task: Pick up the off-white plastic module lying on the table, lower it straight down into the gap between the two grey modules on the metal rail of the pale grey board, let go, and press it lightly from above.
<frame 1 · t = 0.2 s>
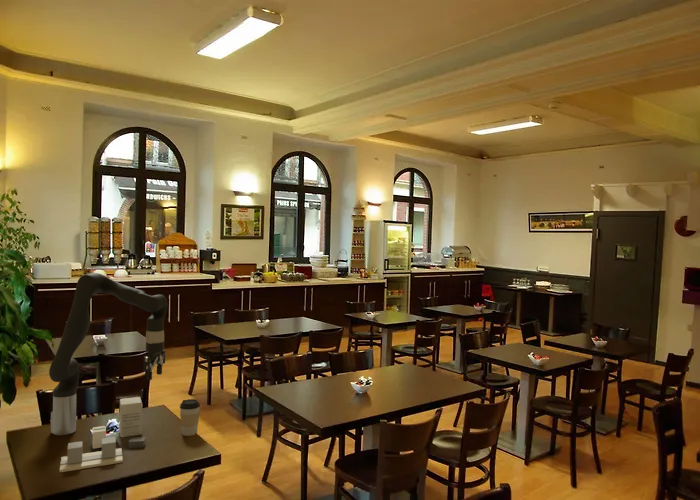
hand: (154, 377, 223), 29 cm above the table, tool pointing down, fingers open, 8 cm apart
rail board: (92, 460, 203), on the table
coffee cup: (189, 433, 234), on the table
supplement box: (130, 433, 232), on the table
expansion module: (99, 445, 218), on the table
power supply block: (137, 446, 219), on the table
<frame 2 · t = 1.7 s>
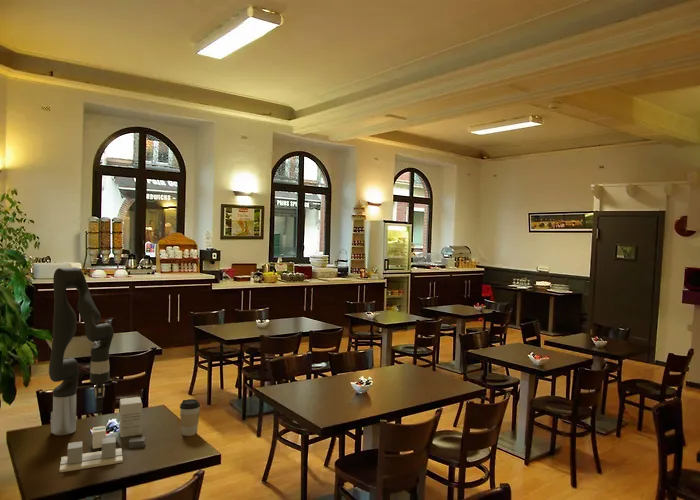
hand: (99, 407, 218), 16 cm above the table, tool pointing down, fingers open, 8 cm apart
nothing on the table moved.
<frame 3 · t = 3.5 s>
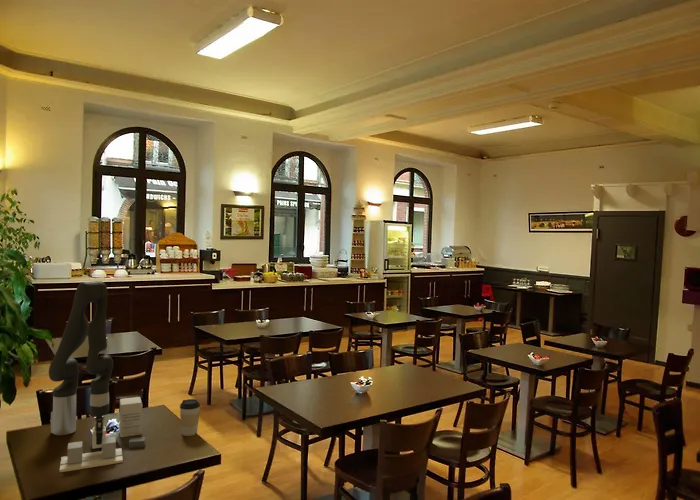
hand: (99, 441, 218), 2 cm above the table, tool pointing down, fingers closed on expansion module, 6 cm apart
expansion module: (99, 445, 218), on the table, touching gripper
everything else where it was.
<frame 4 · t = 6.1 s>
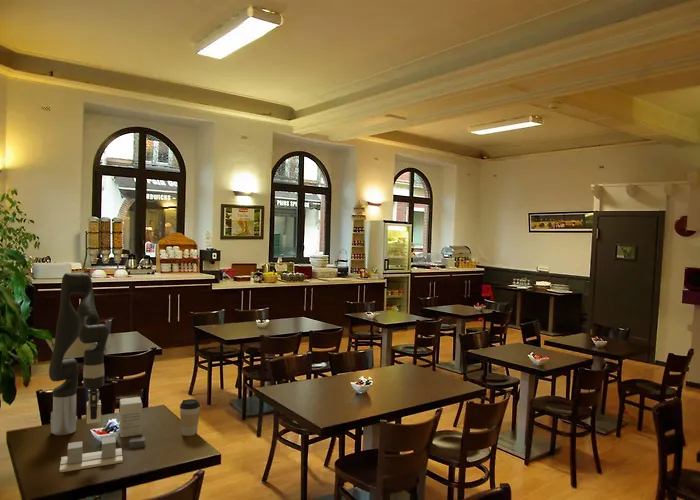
hand: (93, 416, 203), 18 cm above the table, tool pointing down, fingers closed on expansion module, 6 cm apart
expansion module: (93, 420, 203), point 16 cm above the table, touching gripper
everything else where it was.
when the fingers open (4 cm above the table, at t = 8.6 s): expansion module stays where it is, resting on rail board.
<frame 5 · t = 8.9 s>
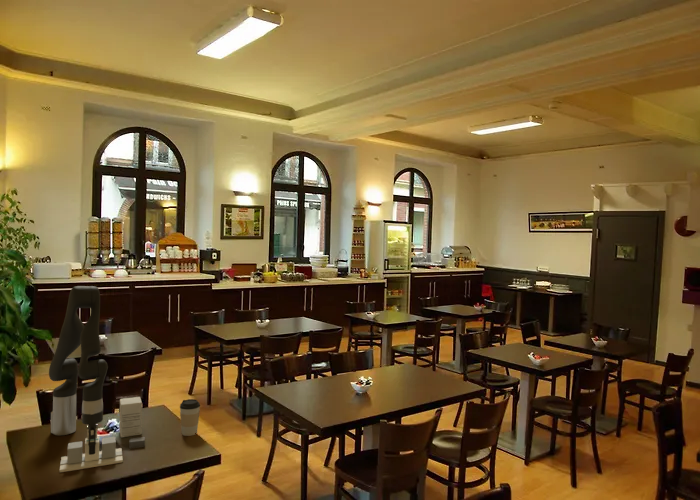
hand: (92, 449, 203), 4 cm above the table, tool pointing down, fingers open, 8 cm apart
expansion module: (92, 457, 203), point 1 cm above the table, touching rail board
everything else where it was.
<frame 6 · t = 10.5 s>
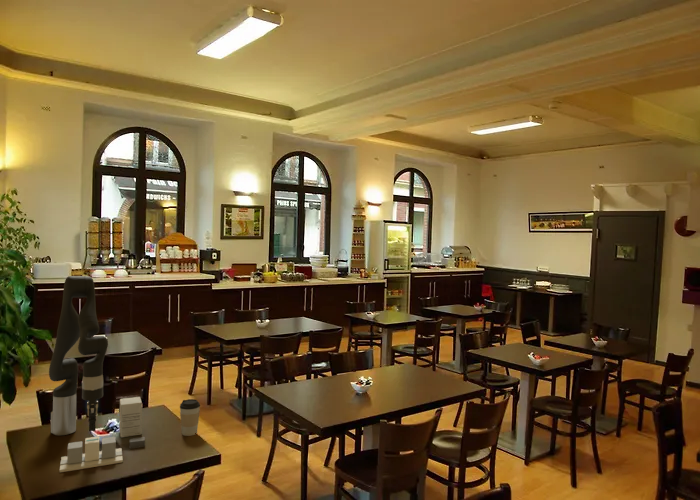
hand: (92, 427, 203), 13 cm above the table, tool pointing down, fingers open, 5 cm apart
nothing on the table moved.
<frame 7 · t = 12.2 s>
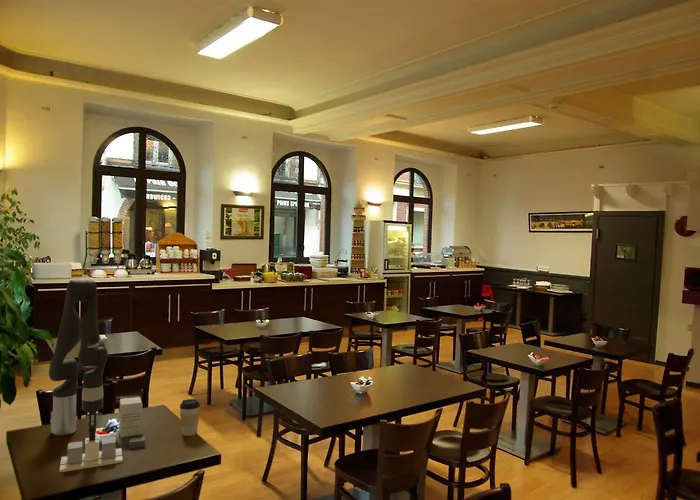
hand: (92, 439, 203), 9 cm above the table, tool pointing down, fingers closed
expansion module: (92, 457, 203), point 1 cm above the table, touching gripper, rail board
everything else where it was.
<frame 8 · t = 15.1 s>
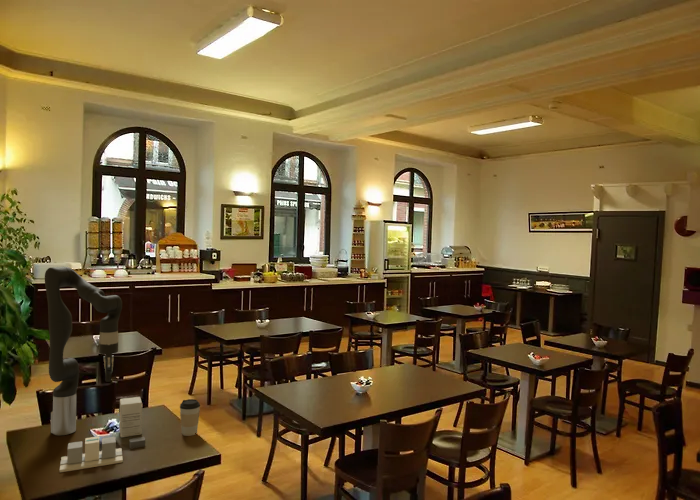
hand: (108, 381, 220), 27 cm above the table, tool pointing down, fingers closed
expansion module: (92, 457, 203), point 1 cm above the table, touching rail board
everything else where it was.
at the end: expansion module 0.1 cm off-centre on the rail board, point 1.4 cm above the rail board's base; expansion module tilted 0°; the gripper is holding nothing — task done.
